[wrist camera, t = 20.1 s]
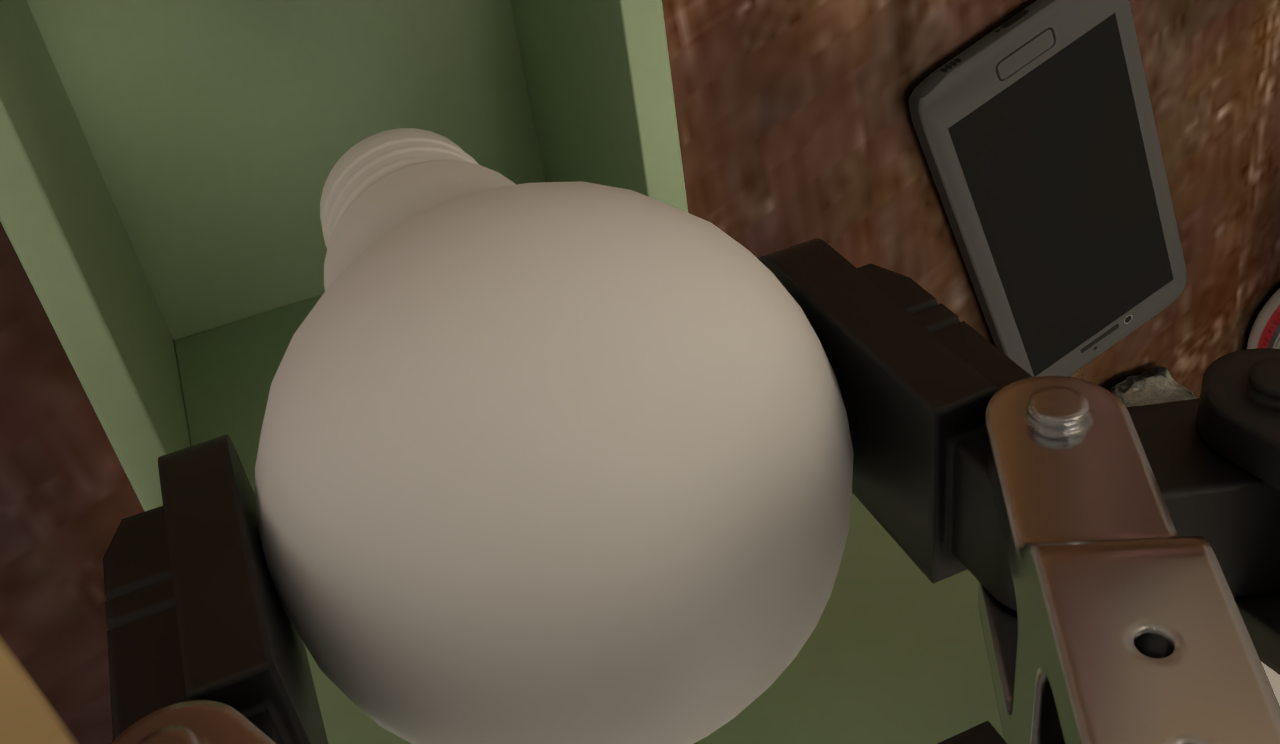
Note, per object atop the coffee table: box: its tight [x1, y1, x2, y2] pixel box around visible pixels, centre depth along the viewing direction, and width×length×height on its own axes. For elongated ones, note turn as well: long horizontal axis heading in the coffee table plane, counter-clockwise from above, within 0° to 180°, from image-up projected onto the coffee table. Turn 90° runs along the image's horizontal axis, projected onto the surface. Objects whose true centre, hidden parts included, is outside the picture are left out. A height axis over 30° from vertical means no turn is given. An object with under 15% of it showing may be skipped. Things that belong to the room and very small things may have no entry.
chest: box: [0, 0, 688, 512], centre depth 25 cm, size 13×12×9 cm
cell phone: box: [909, 0, 1187, 377], centre depth 39 cm, size 7×14×1 cm, turn 28°
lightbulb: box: [255, 128, 854, 744], centre depth 15 cm, size 6×6×11 cm
